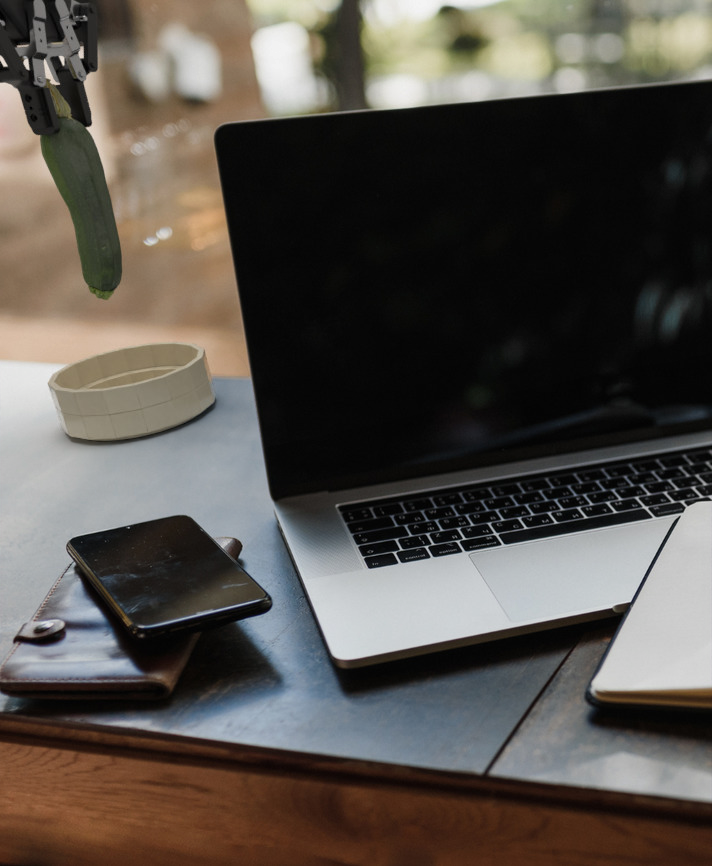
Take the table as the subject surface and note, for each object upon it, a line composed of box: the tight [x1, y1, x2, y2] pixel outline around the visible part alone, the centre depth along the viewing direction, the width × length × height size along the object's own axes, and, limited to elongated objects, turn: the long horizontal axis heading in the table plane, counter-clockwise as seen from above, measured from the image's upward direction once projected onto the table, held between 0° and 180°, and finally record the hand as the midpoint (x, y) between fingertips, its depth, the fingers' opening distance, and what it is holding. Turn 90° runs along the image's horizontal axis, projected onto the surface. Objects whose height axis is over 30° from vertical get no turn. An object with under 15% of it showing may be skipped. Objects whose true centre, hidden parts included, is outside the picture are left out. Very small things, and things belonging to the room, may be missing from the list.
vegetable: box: [39, 77, 123, 301], centre depth 95 cm, size 4×4×20 cm
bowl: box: [47, 341, 217, 442], centre depth 108 cm, size 14×14×6 cm
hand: (63, 129), depth 93 cm, fingers closed on vegetable, 3 cm apart
